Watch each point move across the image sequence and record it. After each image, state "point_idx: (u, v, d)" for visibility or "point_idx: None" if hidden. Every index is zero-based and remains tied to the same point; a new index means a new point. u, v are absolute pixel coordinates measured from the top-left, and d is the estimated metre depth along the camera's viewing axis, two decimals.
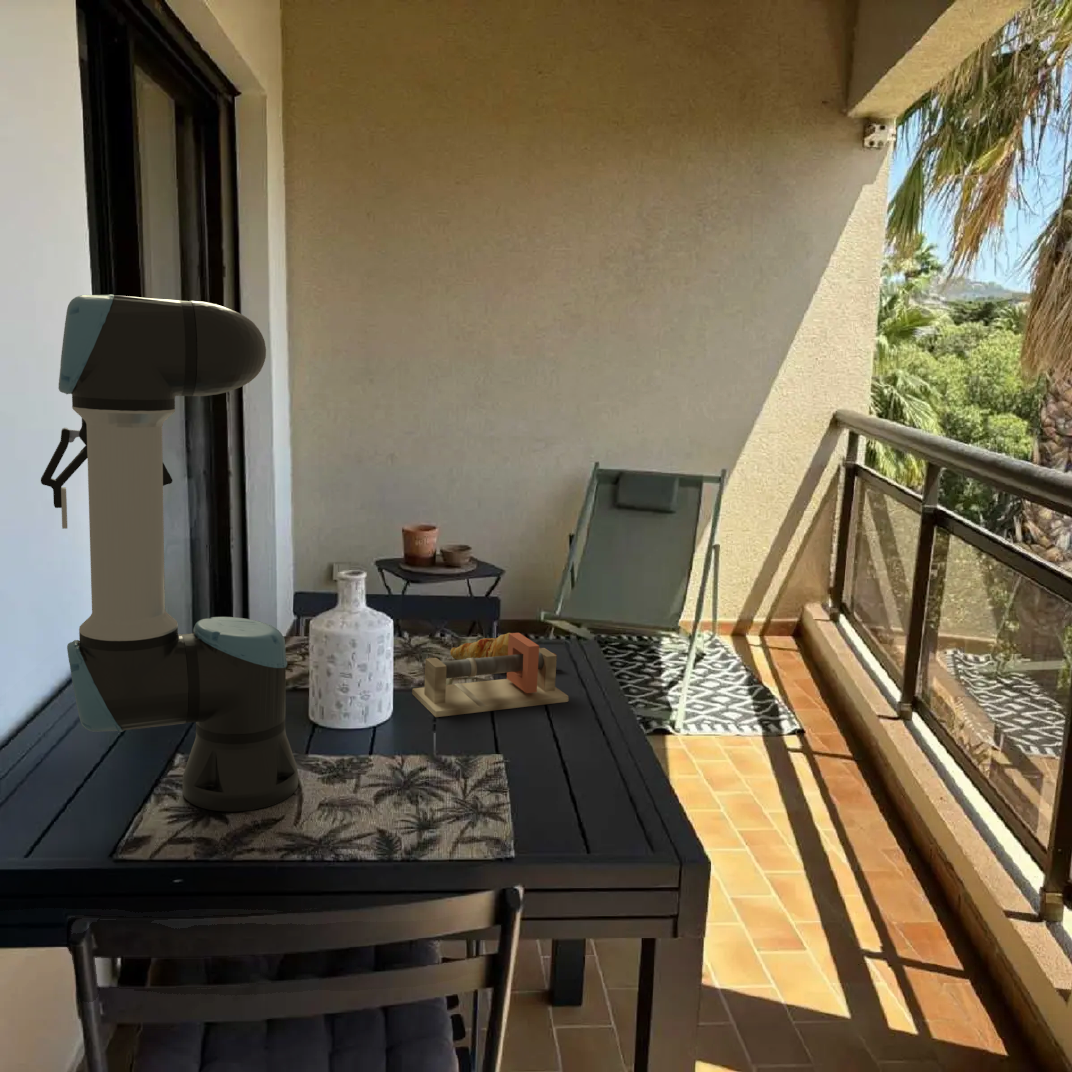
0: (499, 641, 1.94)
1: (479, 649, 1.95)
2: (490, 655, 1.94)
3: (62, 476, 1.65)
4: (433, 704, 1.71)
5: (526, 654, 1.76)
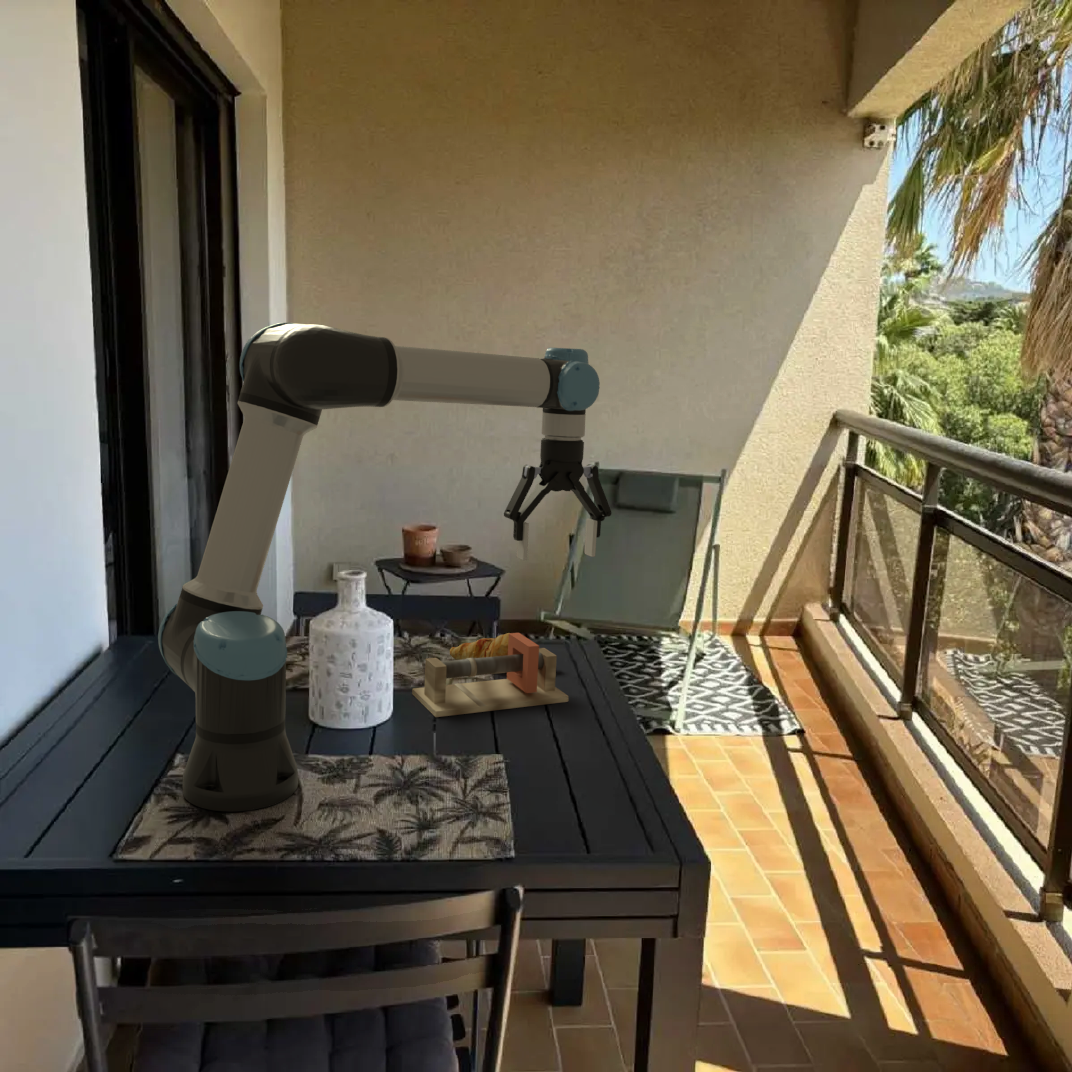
0: (497, 641, 1.94)
1: (477, 649, 1.94)
2: (488, 655, 1.93)
3: (526, 511, 1.74)
4: (433, 704, 1.71)
5: (526, 654, 1.76)
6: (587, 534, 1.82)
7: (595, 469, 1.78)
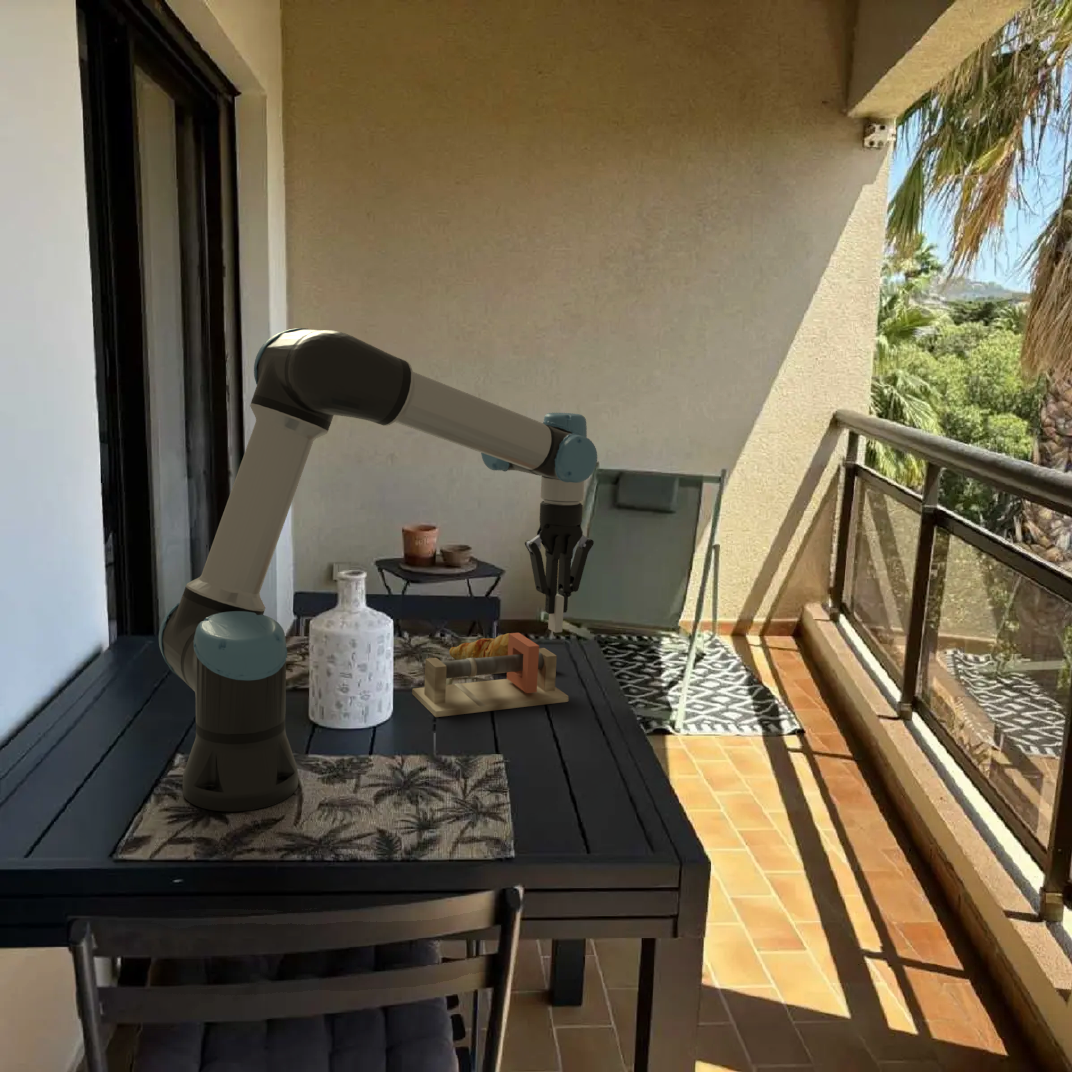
0: (496, 641, 1.94)
1: (477, 649, 1.94)
2: (487, 655, 1.93)
3: (552, 584, 1.79)
4: (433, 704, 1.71)
5: (526, 654, 1.76)
6: None
7: (590, 543, 1.80)
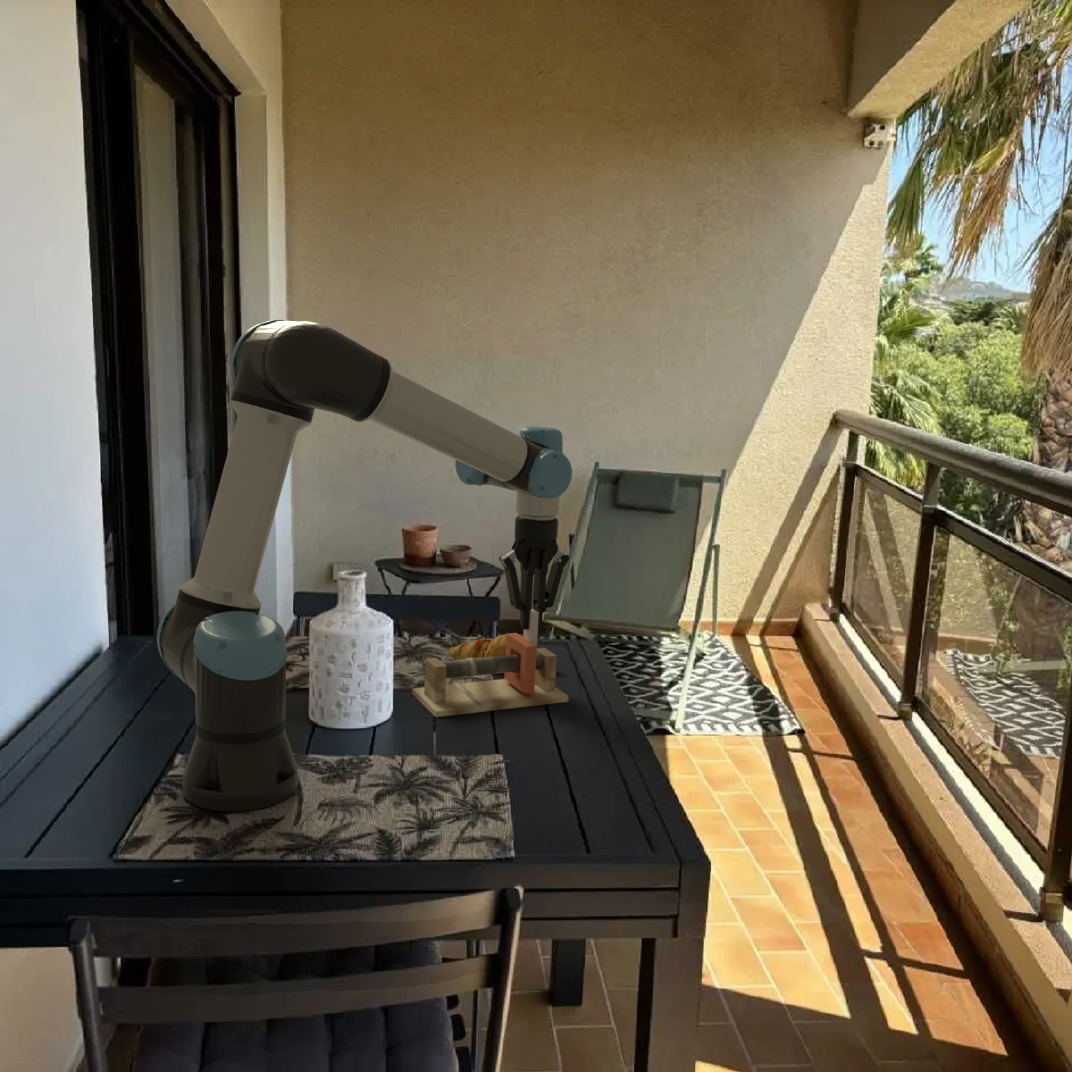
0: (496, 642, 1.94)
1: (476, 649, 1.94)
2: (486, 656, 1.93)
3: (527, 600, 1.77)
4: (433, 704, 1.71)
5: (524, 654, 1.76)
6: None
7: (566, 558, 1.79)
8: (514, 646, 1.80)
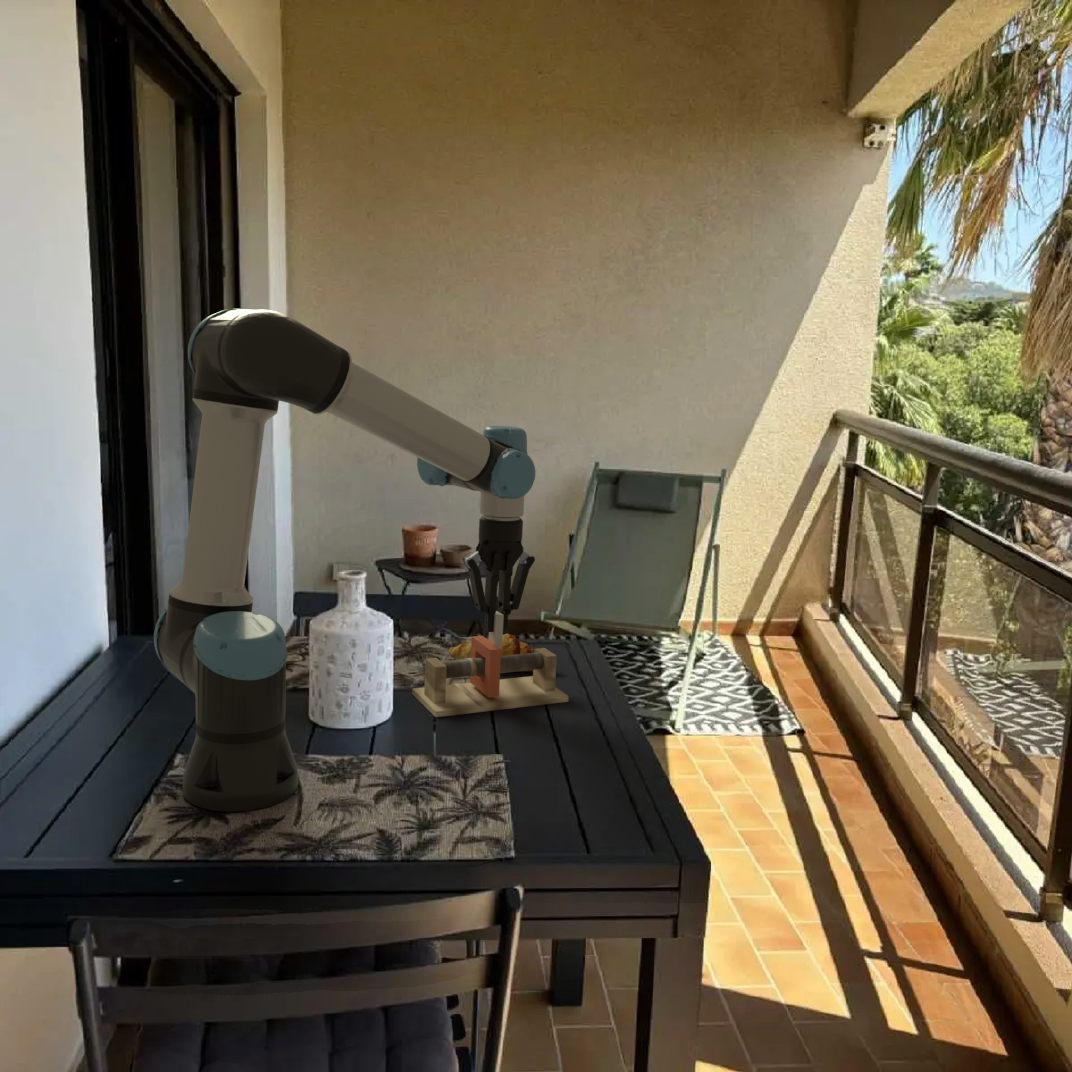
0: None
1: None
2: None
3: (491, 602, 1.74)
4: (433, 704, 1.71)
5: (488, 658, 1.73)
6: None
7: (532, 559, 1.76)
8: (479, 649, 1.77)
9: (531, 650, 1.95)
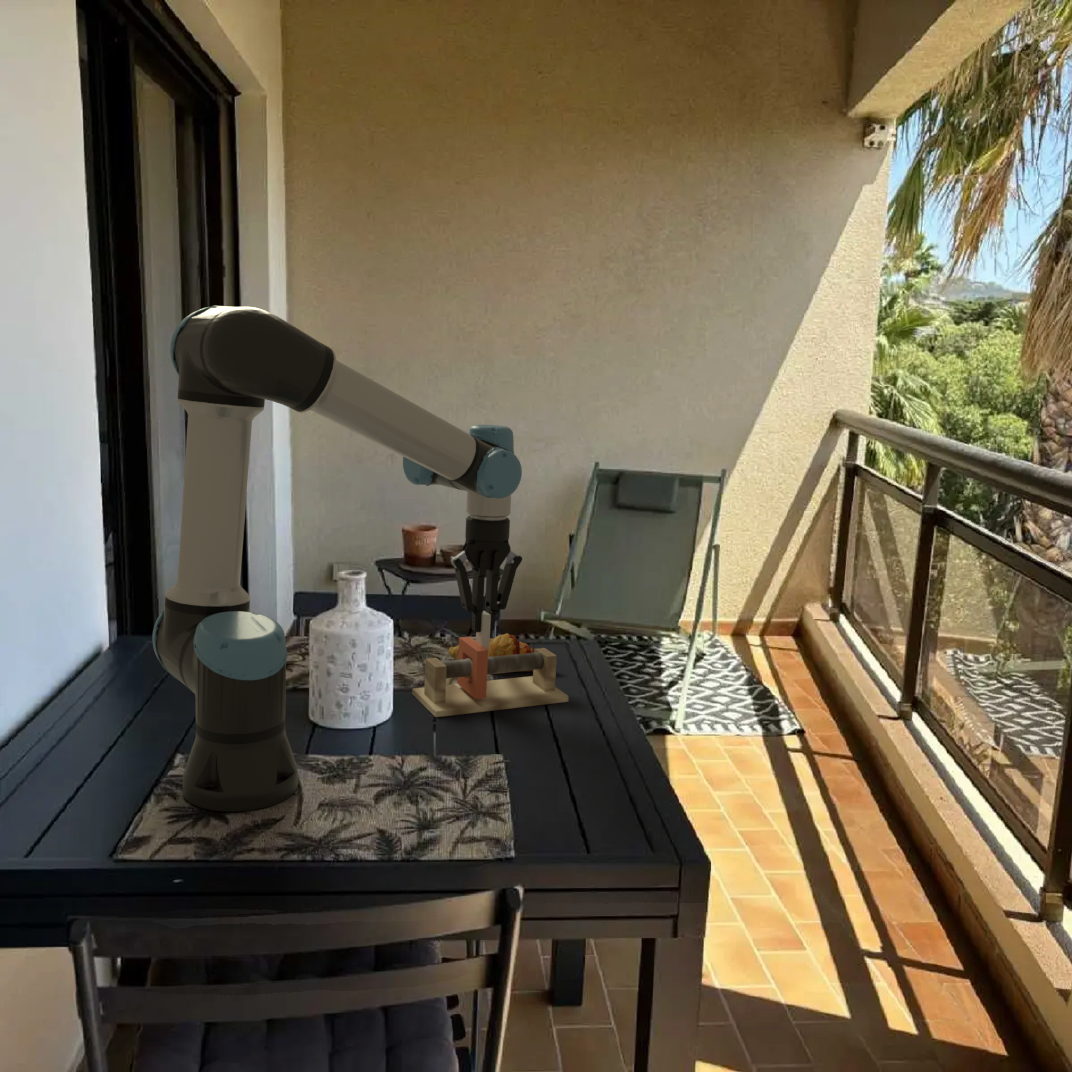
0: (495, 641, 1.94)
1: None
2: None
3: (478, 602, 1.73)
4: (433, 704, 1.71)
5: (475, 659, 1.72)
6: None
7: (519, 559, 1.75)
8: (466, 650, 1.76)
9: (531, 650, 1.95)
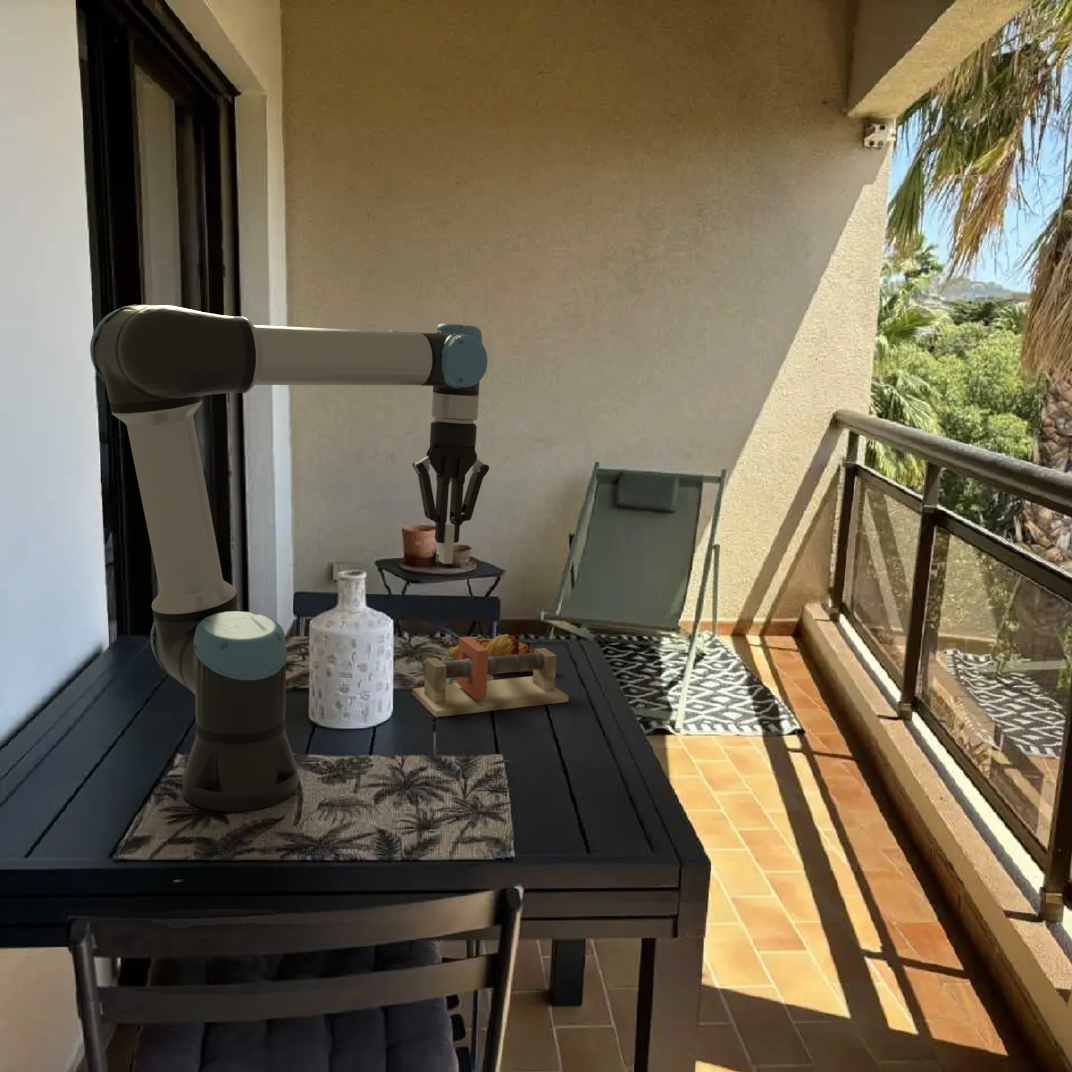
0: (494, 642, 1.94)
1: None
2: None
3: (442, 511, 1.66)
4: (433, 704, 1.71)
5: (475, 659, 1.72)
6: None
7: (486, 468, 1.67)
8: (466, 650, 1.76)
9: (530, 651, 1.94)
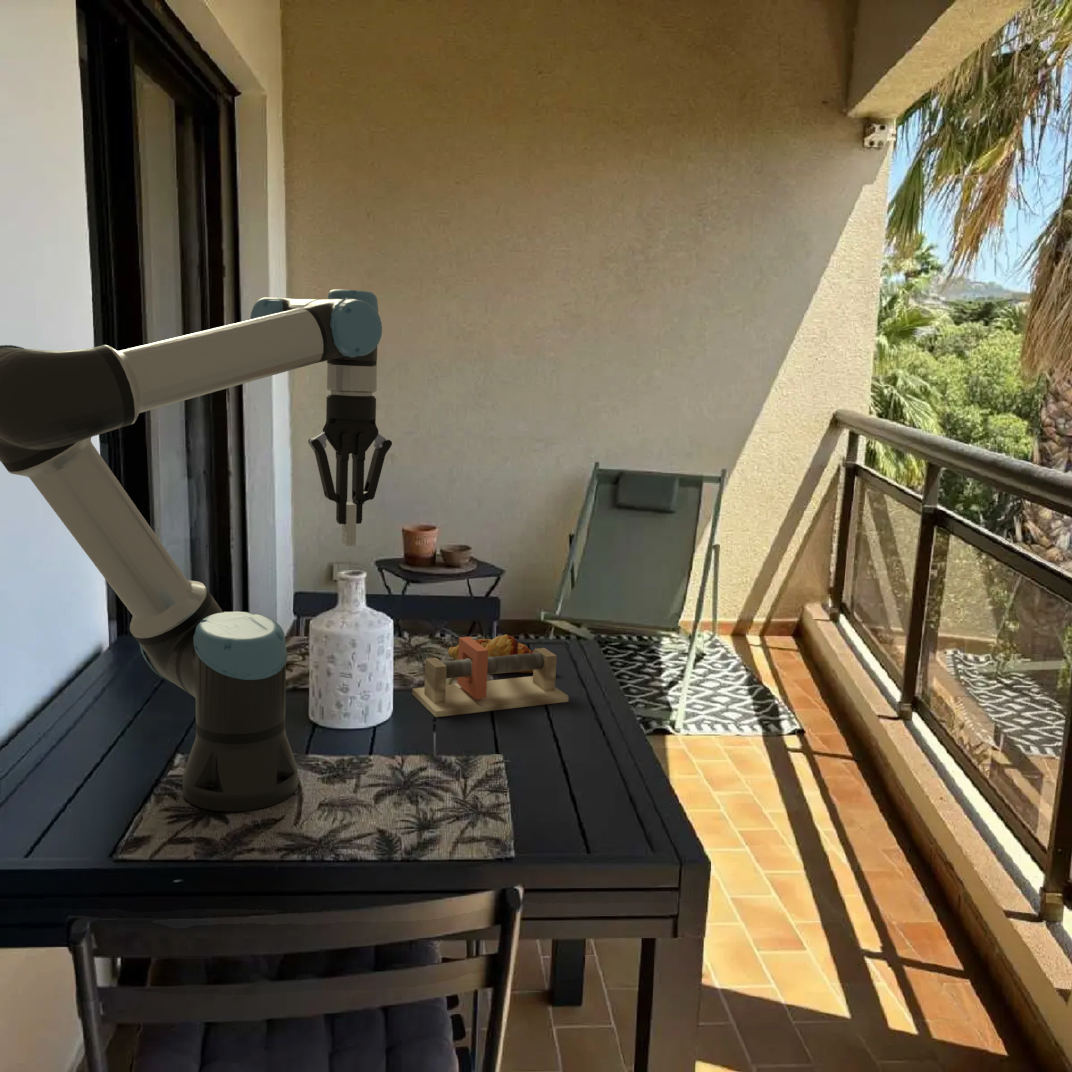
0: (493, 642, 1.93)
1: None
2: None
3: (341, 490, 1.56)
4: (433, 704, 1.71)
5: (475, 659, 1.72)
6: None
7: (388, 443, 1.57)
8: (466, 650, 1.76)
9: (529, 651, 1.94)
